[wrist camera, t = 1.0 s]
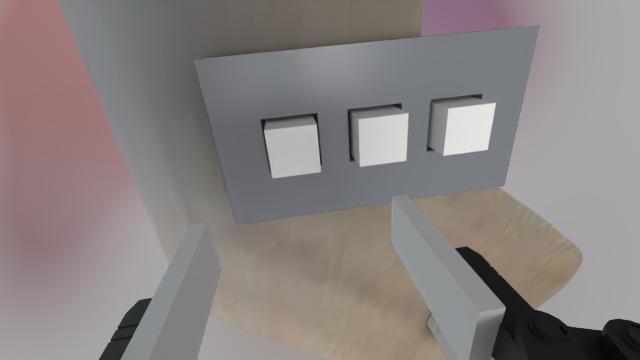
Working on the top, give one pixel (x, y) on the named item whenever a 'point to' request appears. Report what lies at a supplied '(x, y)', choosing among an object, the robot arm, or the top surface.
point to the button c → (460, 124)
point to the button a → (292, 145)
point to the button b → (378, 134)
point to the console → (359, 92)
